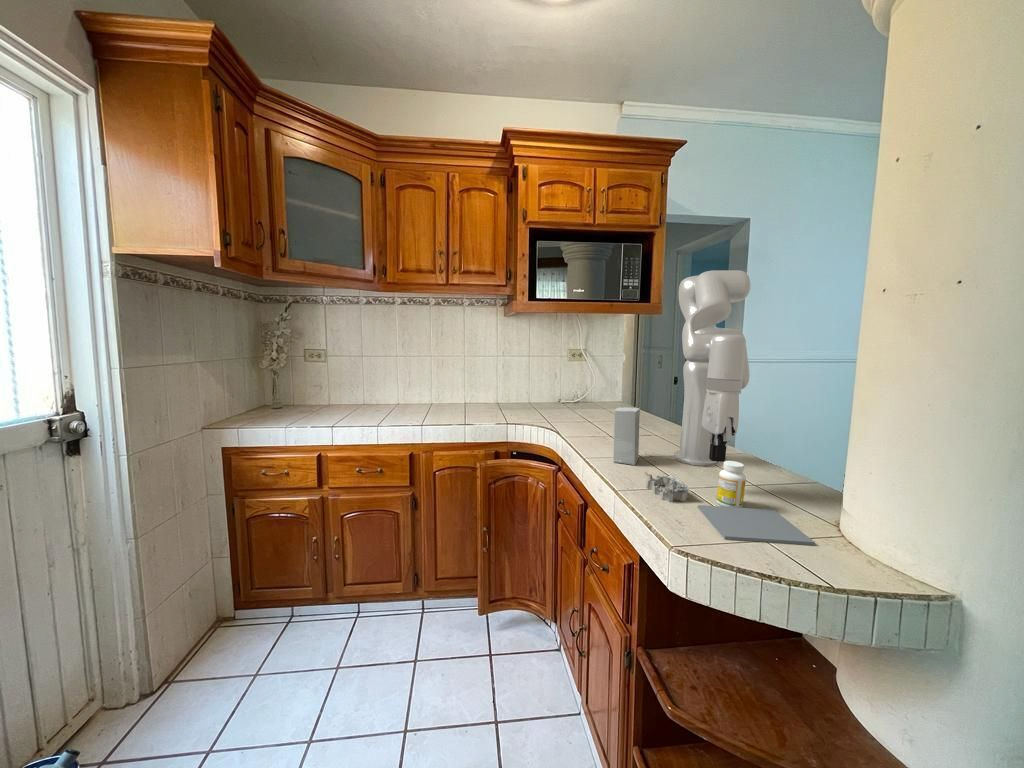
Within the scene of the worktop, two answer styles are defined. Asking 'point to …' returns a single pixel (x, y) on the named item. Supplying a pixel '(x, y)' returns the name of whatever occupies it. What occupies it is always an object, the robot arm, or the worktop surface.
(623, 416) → the skincare box
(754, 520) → the mat
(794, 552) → the worktop surface
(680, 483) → the egg carton
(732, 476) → the supplement bottle
